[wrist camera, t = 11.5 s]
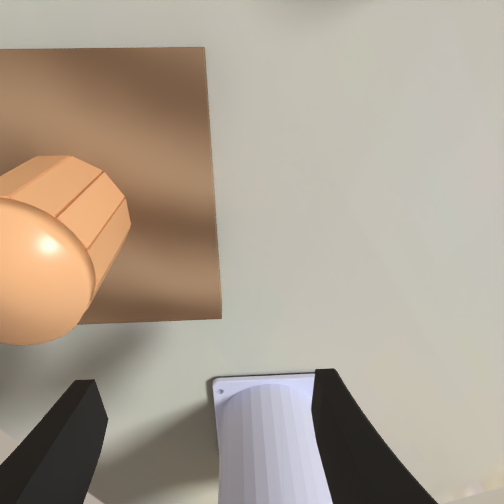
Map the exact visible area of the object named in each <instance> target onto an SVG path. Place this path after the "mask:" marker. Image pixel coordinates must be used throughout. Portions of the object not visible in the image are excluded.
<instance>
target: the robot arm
mask: <svg viewBox="0 0 504 504" xmlns="http://www.w3.org/2000/svg"><path fill="white" fill-rule="evenodd" d="M212 388H213V398H214V408H215V418H216V428H217V438H218V449H219V457H220V459H219V492H218V504H438V503H437V502H436V501H435V500H434V499H433V498H432V497H431V496H430V495H429V493H428V492H427V491H426V490H425V489H424V488H423V487H422V486H421V485H420V484H419V482H418V481H417V480H416V479H415V478H414V477H413V476H412V475H411V473H410V472H409V471H408V470H407V469H406V468H405V466H404V465H403V464H402V463H401V462H400V460H399V459H398V458H397V457H396V455H395V454H394V453H393V452H392V450H391V449H390V448H389V447H388V445H387V444H386V443H385V442H384V440H383V439H382V438H381V436H380V435H379V434H378V432H377V431H376V430H375V428H374V427H373V425H372V424H371V423H370V421H369V420H368V419H367V417H366V416H365V414H364V413H363V412H362V410H361V409H360V407H359V406H358V404H357V403H356V401H355V400H354V398H353V397H352V395H351V394H350V392H349V391H348V389H347V387H346V386H345V384H344V383H343V381H342V379H341V378H340V376H339V374H338V372H337V371H336V370H335V369H316V370H315V373H314V374H292V375H271V376H249V377H227V378H216V379H215V380H214V381H213V385H212ZM107 423H108V417H107V414H106V411H105V408H104V405H103V403H102V400H101V397H100V394H99V391H98V388H97V385H96V382H95V379H92V380H75V381H74V382H73V383H72V384H71V386H70V387H69V388H68V389H67V390H66V391H65V393H64V394H63V395H62V396H61V397H60V399H59V400H58V401H57V402H56V403H55V404H54V406H53V407H52V408H51V409H50V410H49V412H48V413H47V414H46V415H45V416H44V417H43V419H42V420H41V421H40V422H39V423H38V424H37V425H36V427H35V428H34V429H33V430H32V431H31V432H30V433H29V435H28V436H27V437H26V438H25V439H24V440H23V441H22V442H21V444H20V445H19V446H18V447H17V448H16V449H15V450H14V451H13V452H12V453H11V455H10V456H9V457H8V458H7V459H6V460H5V461H4V462H3V463H2V464H1V465H0V504H83V502H84V499H85V496H86V494H87V491H88V488H89V485H90V482H91V479H92V477H93V474H94V471H95V468H96V465H97V462H98V459H99V456H100V453H101V449H102V445H103V441H104V436H105V432H106V427H107Z"/></svg>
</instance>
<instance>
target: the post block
mask: <svg viewBox="0 0 504 504" xmlns="http://www.w3.org/2000/svg"><path fill="white" fill-rule="evenodd" d="M63 155H70V157H71V156H73V157H75V158H77V159H79V160H82V161H84V162H86V163H88V164H90V165H92V166H94V167H96V168H98V169H101V170H103V171H102V173H104V172H105V173H106V174H107V176H108V177H109V178H110V179H111V180H112V182H113V183H114V184H115V185H116V186H117V188H118V189H119V190H120V191H121V192H122V194H123V195H124V196H125V197H124V198H126V202H127V207H128V212H129V217H130V222H131V225H130V226H131V227H130V229H129V232H128V234H127V236H126V239H125V241H124V243H123V245H122V248H121V250H120V251H119V253H118V255H117V257H116V259H115V260H114V262H113V264H112V266H111V268H110V269H109V271H108V273H107V275H106V277H105V278H104V280H103V282H102V284H101V286H100V287H99V289H98V291H97V293H96V295H95V297H94V298H93V300H92V302H91V304H90V306H89V307H88V309H87V310H86V311H85V312H84V314H83V315H82V317H81V319H80V321H79V322H78V323H77V324H76V325H80V324H105V323H130V322H155V321H181V320H206V319H222V299H221V284H220V269H219V254H218V239H217V224H216V209H215V194H214V179H213V164H212V149H211V134H210V119H209V104H208V89H207V74H206V59H205V47H165V48H74V49H0V176H2V175H3V174H5V173H7V172H9V171H11V170H12V169H14V168H16V167H18V166H20V165H21V164H23V163H25V162H27V161H29V160H31V159H32V158H34V157H37V156H63Z"/></svg>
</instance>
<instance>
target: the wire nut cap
mask: <svg viewBox="0 0 504 504" xmlns="http://www.w3.org/2000/svg"><path fill="white" fill-rule="evenodd" d="M102 171H103V170H101V169H98V168H96V167H94V166H92V165H90V164H88V163H86V162H84V161H82V160H79V159H77V158H75V157H73V156H71V157H70V155H63V156H37V157H34V158H32V159H31V160H29V161H27V162H25V163H23V164H21V165H20V166H18V167H16V168H14V169H12V170H11V171H9V172H7V173H5V174H3V175H2V176H0V343H4V344H12V345H33V344H41V343H46V342H49V341H52V340H55V339H57V338H59V337H62V336H63V335H65V334H66V333H68V332H69V331H70V330H72V329H73V328H74V327H75V326H76V324H77V323H78V322H79V321H80V319H81V317H82V315H83V314H84V312H85V311H86V310H87V309H88V307H89V306H90V304H91V302H92V300H93V298H94V297H95V295H96V293H97V291H98V289H99V287H100V286H101V284H102V282H103V280H104V278H105V277H106V275H107V273H108V271H109V269H110V268H111V266H112V264H113V262H114V260H115V259H116V257H117V255H118V253H119V251H120V250H121V248H122V245H123V243H124V241H125V239H126V236H127V234H128V232H129V229H130V227H131V226H130V225H131V222H130V217H129V212H128V207H127V202H126V198H124V197H125V196H124V195H123V194H122V192H121V191H120V190H119V189H118V188H117V186H116V185H115V184H114V183H113V182H112V180H111V179H110V178H109V177H108V176H107V174H106V173H105V172H104V173H102Z"/></svg>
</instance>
